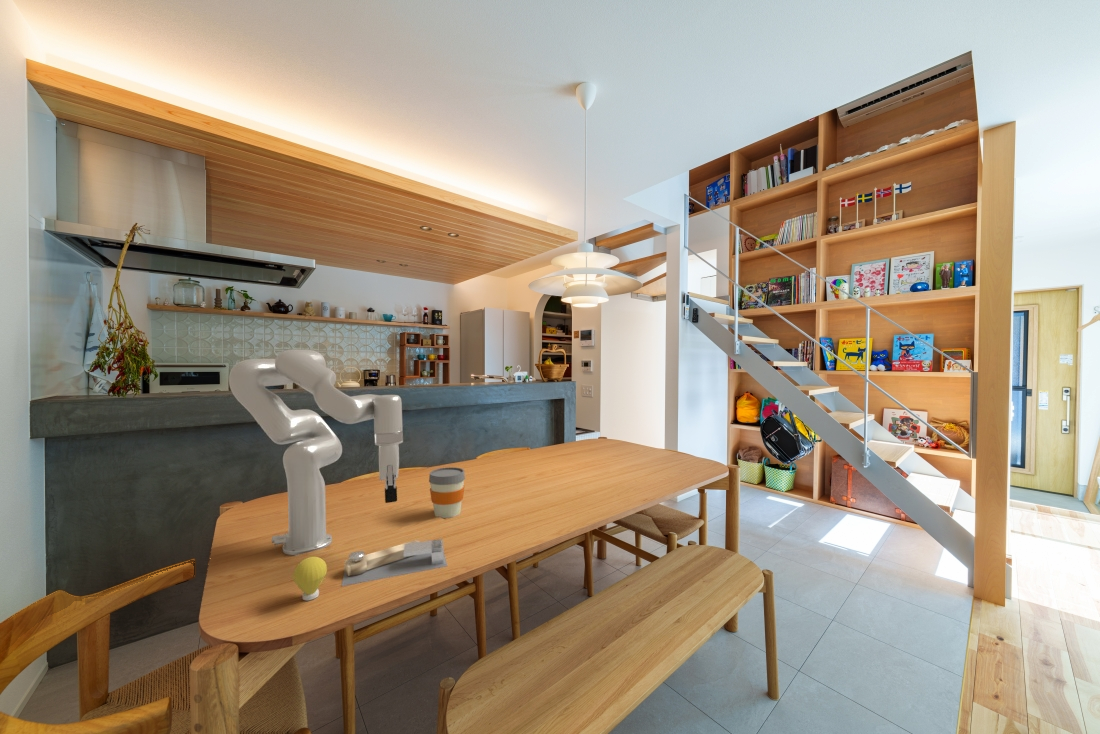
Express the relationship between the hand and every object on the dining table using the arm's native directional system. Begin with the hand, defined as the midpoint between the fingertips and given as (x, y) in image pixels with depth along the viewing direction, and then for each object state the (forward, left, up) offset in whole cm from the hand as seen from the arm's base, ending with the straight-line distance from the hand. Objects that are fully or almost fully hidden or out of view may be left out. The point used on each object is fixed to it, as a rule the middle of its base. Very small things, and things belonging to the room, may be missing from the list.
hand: (391, 501), depth 116 cm
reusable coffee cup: (+19, +23, -15) cm, 33 cm away
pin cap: (-8, -10, -11) cm, 17 cm away
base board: (+1, -10, -15) cm, 18 cm away
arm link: (-2, -8, -13) cm, 16 cm away
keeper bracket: (+8, -12, -14) cm, 20 cm away
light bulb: (-17, -19, -15) cm, 30 cm away
